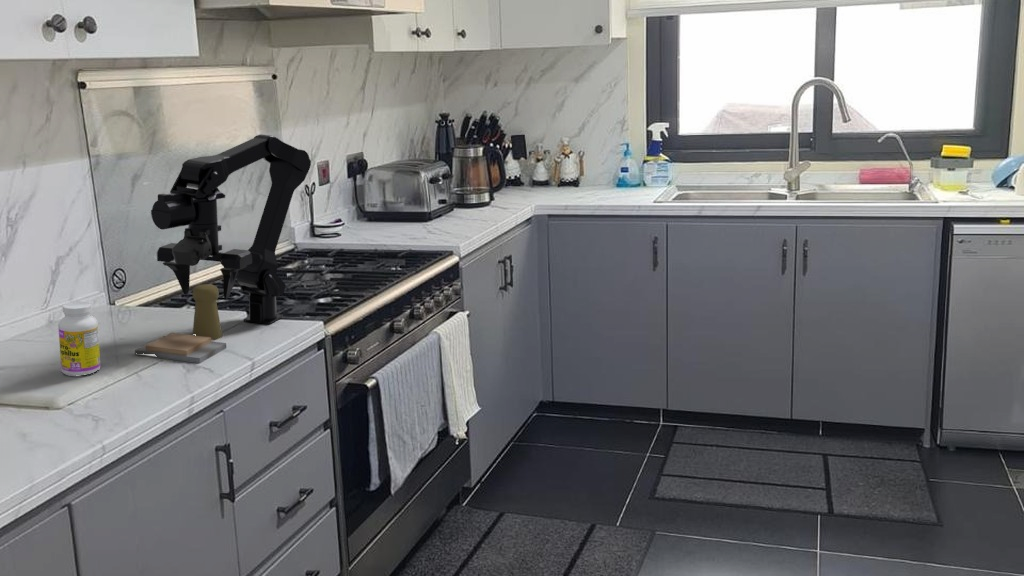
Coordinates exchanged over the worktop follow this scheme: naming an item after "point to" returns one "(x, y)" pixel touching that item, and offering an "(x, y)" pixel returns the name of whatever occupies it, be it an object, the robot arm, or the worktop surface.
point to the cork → (206, 312)
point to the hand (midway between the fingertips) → (206, 296)
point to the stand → (182, 347)
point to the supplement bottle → (78, 340)
